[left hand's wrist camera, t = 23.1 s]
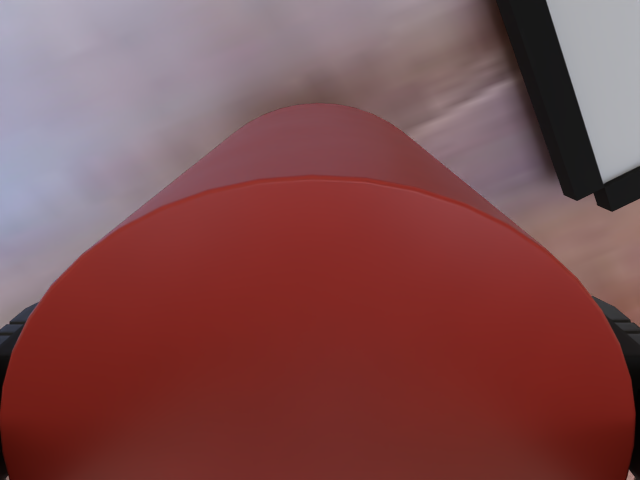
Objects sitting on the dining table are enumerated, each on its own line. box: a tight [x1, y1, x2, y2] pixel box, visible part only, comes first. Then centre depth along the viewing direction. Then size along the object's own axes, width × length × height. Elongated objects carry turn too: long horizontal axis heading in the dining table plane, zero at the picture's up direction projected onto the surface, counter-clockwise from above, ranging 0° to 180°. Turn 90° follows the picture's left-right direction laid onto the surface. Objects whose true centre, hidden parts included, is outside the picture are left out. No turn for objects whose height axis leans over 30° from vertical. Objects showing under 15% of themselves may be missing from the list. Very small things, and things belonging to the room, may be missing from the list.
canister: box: [0, 103, 636, 480], centre depth 11 cm, size 9×9×10 cm
